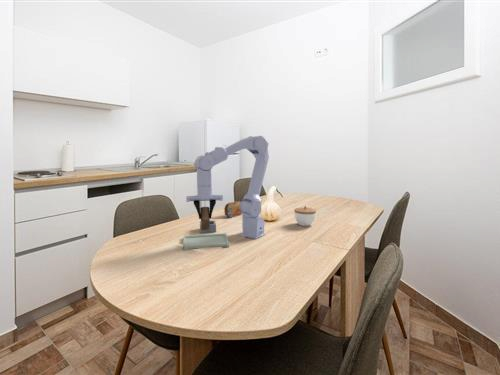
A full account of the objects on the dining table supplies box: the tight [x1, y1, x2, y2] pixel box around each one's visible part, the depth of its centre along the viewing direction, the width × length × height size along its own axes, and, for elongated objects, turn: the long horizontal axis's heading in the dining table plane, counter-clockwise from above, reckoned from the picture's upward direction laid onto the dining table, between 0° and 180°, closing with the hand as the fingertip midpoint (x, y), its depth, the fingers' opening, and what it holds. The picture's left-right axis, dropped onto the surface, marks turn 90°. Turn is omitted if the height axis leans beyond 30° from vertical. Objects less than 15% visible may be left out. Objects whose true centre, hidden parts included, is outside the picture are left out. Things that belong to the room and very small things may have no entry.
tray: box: [182, 233, 230, 251], centre depth 118 cm, size 18×13×2 cm
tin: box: [223, 200, 242, 219], centre depth 164 cm, size 15×3×8 cm, turn 143°
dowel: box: [200, 206, 211, 230], centre depth 118 cm, size 4×4×9 cm
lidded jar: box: [294, 206, 317, 227], centre depth 145 cm, size 11×11×9 cm
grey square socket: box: [199, 220, 217, 234], centre depth 134 cm, size 7×7×4 cm
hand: (205, 218), depth 117 cm, fingers closed on dowel, 4 cm apart
